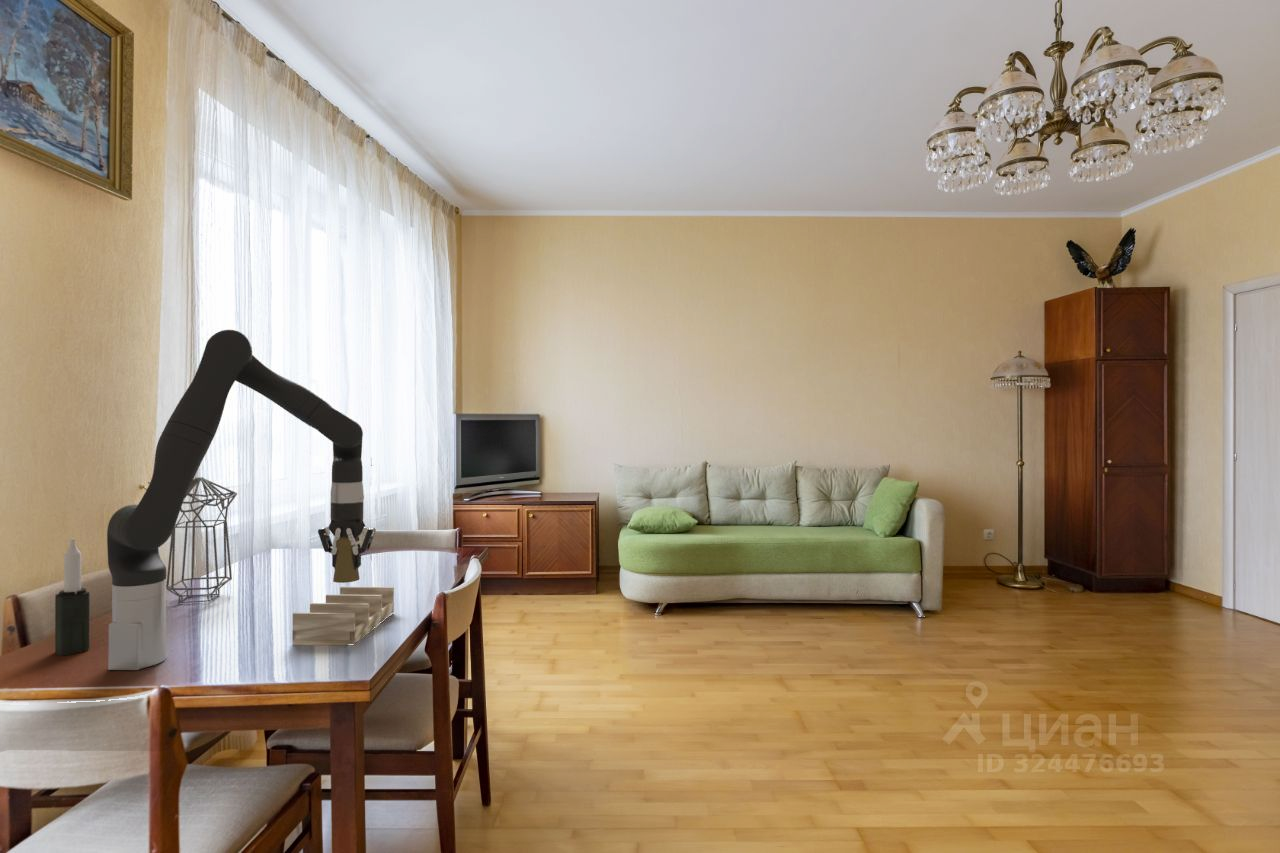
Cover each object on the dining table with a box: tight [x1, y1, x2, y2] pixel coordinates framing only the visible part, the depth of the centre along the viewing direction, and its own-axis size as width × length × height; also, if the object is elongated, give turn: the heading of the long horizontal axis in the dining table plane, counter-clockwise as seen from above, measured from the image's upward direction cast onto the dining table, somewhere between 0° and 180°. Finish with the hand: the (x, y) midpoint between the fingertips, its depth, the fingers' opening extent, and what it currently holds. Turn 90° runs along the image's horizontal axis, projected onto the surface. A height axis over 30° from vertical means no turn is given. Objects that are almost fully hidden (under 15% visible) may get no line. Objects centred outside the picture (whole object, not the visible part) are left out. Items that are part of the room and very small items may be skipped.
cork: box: [332, 537, 360, 584], centre depth 168 cm, size 6×6×11 cm
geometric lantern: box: [166, 476, 238, 604], centre depth 193 cm, size 16×16×35 cm
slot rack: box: [291, 586, 395, 646], centre depth 168 cm, size 25×14×7 cm, turn 0°
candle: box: [54, 537, 91, 656], centre depth 150 cm, size 5×5×25 cm
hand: (346, 568), depth 168 cm, fingers closed on cork, 4 cm apart
